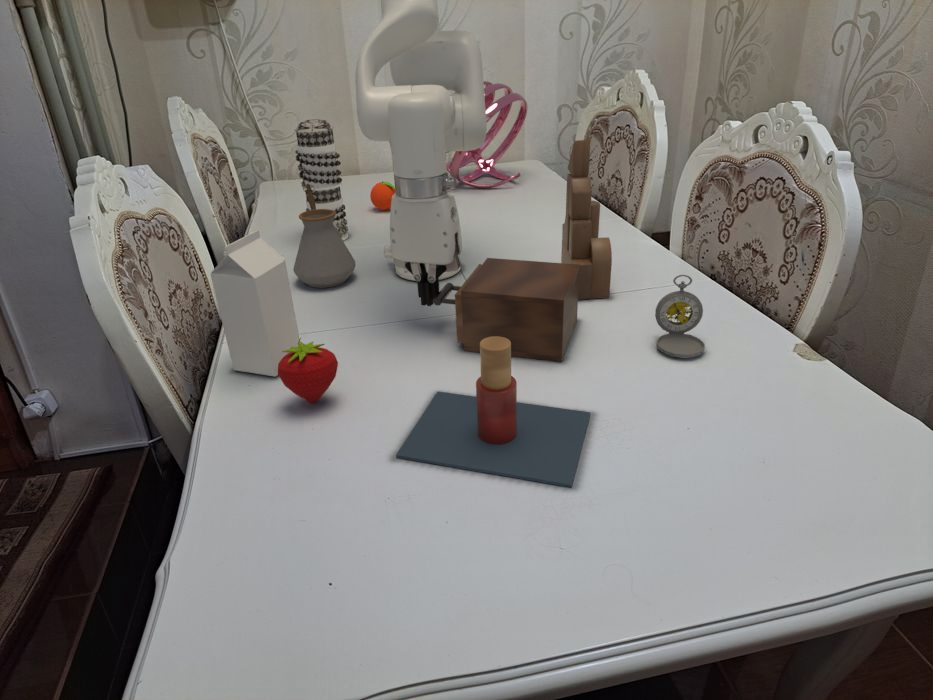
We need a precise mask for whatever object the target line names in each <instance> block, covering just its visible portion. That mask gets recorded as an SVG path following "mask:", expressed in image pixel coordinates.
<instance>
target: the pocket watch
mask: <svg viewBox="0 0 933 700" xmlns="http://www.w3.org/2000/svg"><path fill="white" fill-rule="evenodd" d="M681 277H685V278H688V280H689V282H688V283H686V282H685V281H683V280H682V281H680V283H679V284H678V283H677V281H676V280H677V279H678V278H681ZM672 282H673V284H674V285H676V286H677V288H679V290H675V291H672V292H669V293H667V294H666V295H664V296H663V297H662V298H661V299H660V300H659V301H658V303H657V304H656V307H655V314H654V317H655V320H656V323H657V325H658V326H659V327H660V328H661V329H662V330H663V331H665V332H666V334H665V333H664V334H662V335H660V336H659V337H657V339H656V348H657V350H659V351H660V352H661V353H663V354H664V355H667V356H670V357H675V358H679V359H680V358H681V359H690V358H696V357H698V356H700V355H702V354H703V353H704V351H705V348H706V345H705V342H704V341H703V340H702V339H701V338H698V337H697V336H694V335H691V334H687V332H689V331H692V330H693V329H694V328H696V327H697V326H698V325H699V323H700V322H701V320H702V318H703V314H704V308H703V303H702V302H701V300H700V299H699V297H697V296H696V295H695V294H694V293H692V292H689V291H685V289H686V288H687V287H688V286H690V285H691V284H692V283H693V279H692V277H691V276H689V275H686V274H679V275H677V276H675V277H674V278H673V280H672ZM688 314H689V315H688ZM687 315H688V316H687Z"/></svg>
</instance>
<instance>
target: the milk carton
mask: <svg viewBox="0 0 933 700" xmlns="http://www.w3.org/2000/svg"><path fill="white" fill-rule="evenodd" d="M224 249H225V250H224V251H223V252H222V255H223V256H224V257H223V258H222V259H221V261H220V262H219V263H218V264H217V265H216V266H215V267H214V269H213V270H212V271H211V272H210V278H211V283H212V286H213V290H214V294H215V299H216V303H217V307H218V311H219V315H220V319H221V324H222V328H223V332H224V336H225V340H226V343H227V348H228V352H229V357H230V360H231V364H232V369H233V371H237V372H243V373H249V374H256V375H262V376H269V377H275V378H276V377H277V376H279V375H278V363H279V362H280V361H281V359H282V358H283V357H284V356H285V355H286V354H288V353H290V352H282V351H283V350H288V349H290V347H298V342H299V339H300V338H301V337H300V333H299V329H298V328H299V327H298V323H297V322H298V321H297V317H296V310H295V306H294V301H293V295H292V289H291V285H290V284H291V283H290V278H289V273H288V268H287V262H286V258H284V256H283V255H281V254H280V253H278V251H276V250H275V249H274V248H273V247H272V246H271V245H270V244H268V243H267V242H266V241H265V240H264V239H263V238H262V237H261V234H260V230H259V229H257V230H255V231H253V232H251V233H249V234H247V235H245V236H243V237H240V238H239V239H237V240H235V241H233V242H231V243H229V244H227V245H225V246H224ZM300 340H301V339H300Z"/></svg>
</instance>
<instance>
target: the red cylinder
mask: <svg viewBox="0 0 933 700" xmlns="http://www.w3.org/2000/svg"><path fill="white" fill-rule="evenodd" d="M479 358H480V359H479V361H480V376H479V377H478V378H477V379H476V381H475V397H476V399H477V426H478V436H479V438H480V439H481V440H483V441H484V442H487V443H490V444H504V443H508V442H510V441H512V440H513V439H514V438H515V436H516V434H517V402H518V400H517V399H518V398H517V397H518V396H517V395H518V393H517V392H518V391H517V390H518V388H517V387H518V385H517V383H518V382H517V380H516V378H515V377H514V376H512V356H511V342H510V340H509V339H507V338H505V337H500V336H492V337H487V338H485V339H483V340H482V341H481V342H480V352H479Z"/></svg>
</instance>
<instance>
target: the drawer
mask: <svg viewBox="0 0 933 700" xmlns="http://www.w3.org/2000/svg"><path fill="white" fill-rule="evenodd" d="M482 264H483V263H479V264H478V265H477V266H476V268H475V269H474V270H473V271H472V272H471V274H470V275H469V276H468V277H467V278H466V280H465V281H464V283H462V285H461V286H459V285H454V284H453V283H452V282H447V283H445V285H444V286H443V287H442V288H441V289H440V290H439V293H438V294H437V295H436V296H435V298H434V299H433V305H434V306H437V307H438V306H441V305H442V304H444V305H445V304H446V305H454V306H455V309H454V310H455V325H456V343H459V344H463V323H462V301H461V290H462V289H463V288H464V287H465V285H466V284H467V283H468V282H469V280H470V279H471V278H472V277H473V275H474V274H475V273H476V272H477V270H478V269H479V268H480V267H481V265H482ZM453 291H455V293H454V298H448V296H449V295H450V294H451V293H452V292H453Z"/></svg>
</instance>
